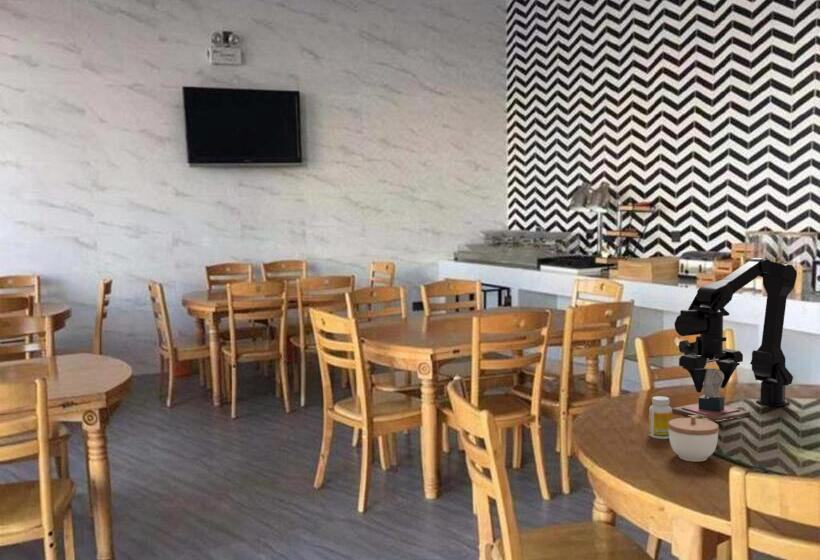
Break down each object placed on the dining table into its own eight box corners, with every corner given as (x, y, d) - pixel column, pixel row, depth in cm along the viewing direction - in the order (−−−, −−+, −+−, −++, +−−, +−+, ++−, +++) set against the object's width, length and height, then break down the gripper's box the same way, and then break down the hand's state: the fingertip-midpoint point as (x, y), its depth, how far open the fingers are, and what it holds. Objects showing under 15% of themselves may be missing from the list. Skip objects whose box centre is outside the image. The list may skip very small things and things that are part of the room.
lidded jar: (691, 467, 171) (692, 425, 170) (657, 454, 180) (657, 414, 180) (729, 460, 175) (729, 419, 174) (693, 447, 185) (694, 408, 184)
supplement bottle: (644, 435, 196) (644, 397, 195) (660, 432, 198) (660, 394, 197) (659, 440, 191) (660, 401, 190) (676, 437, 193) (676, 398, 192)
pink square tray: (707, 404, 224) (707, 399, 224) (749, 415, 211) (749, 410, 211) (672, 411, 217) (672, 406, 217) (713, 423, 205) (713, 417, 205)
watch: (726, 406, 216) (726, 367, 215) (717, 413, 209) (718, 372, 208) (705, 404, 219) (705, 365, 218) (696, 410, 213) (696, 370, 212)
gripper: (711, 326, 224) (710, 380, 225) (663, 332, 215) (663, 388, 216) (744, 331, 214) (743, 387, 215) (696, 337, 205) (695, 396, 207)
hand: (710, 390), depth 214 cm, fingers open, 9 cm apart
